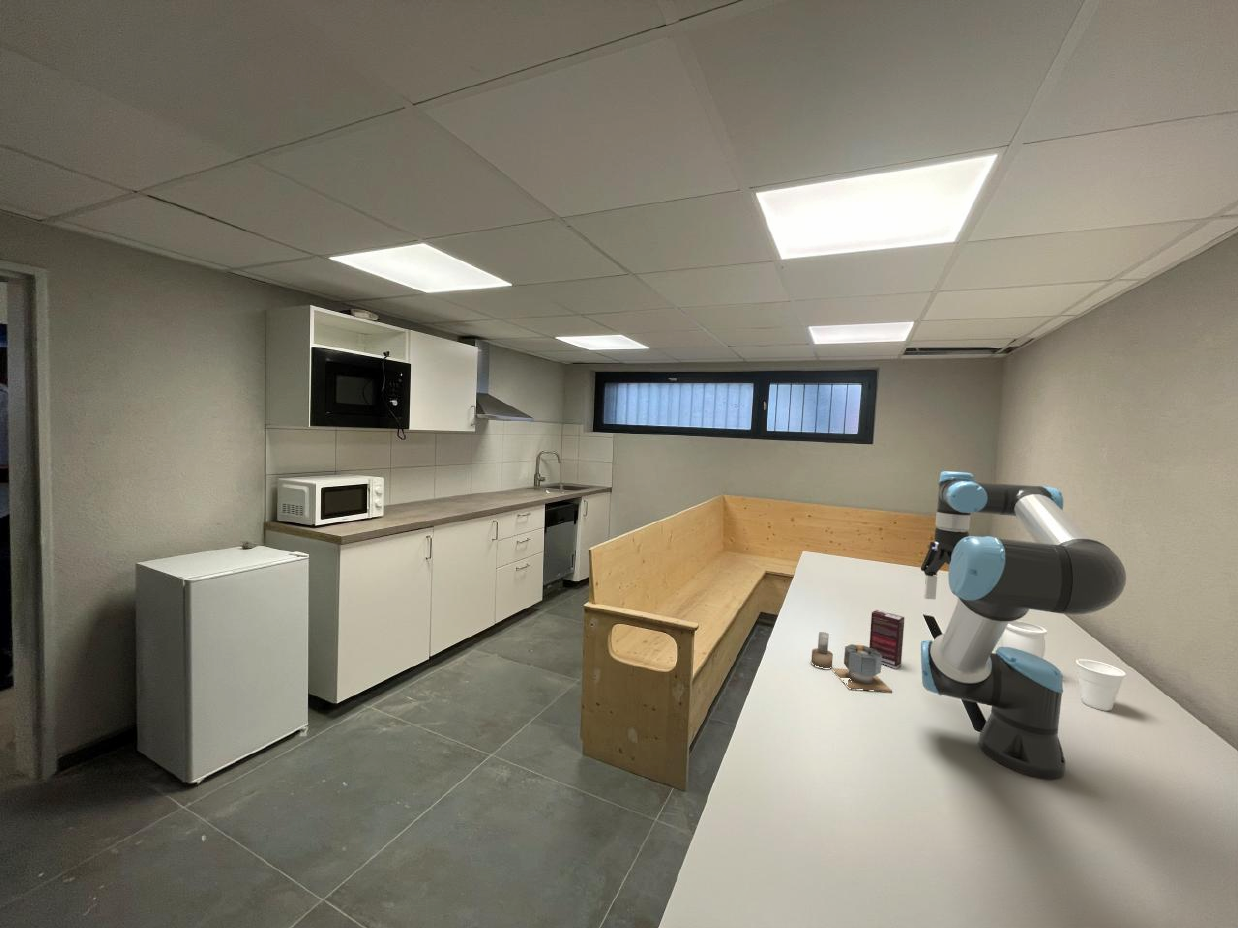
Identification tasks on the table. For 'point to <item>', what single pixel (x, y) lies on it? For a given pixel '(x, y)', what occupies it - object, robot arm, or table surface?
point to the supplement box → (887, 637)
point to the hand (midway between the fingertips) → (945, 606)
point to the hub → (862, 680)
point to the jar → (1025, 637)
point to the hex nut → (862, 660)
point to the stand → (822, 652)
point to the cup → (1099, 683)
